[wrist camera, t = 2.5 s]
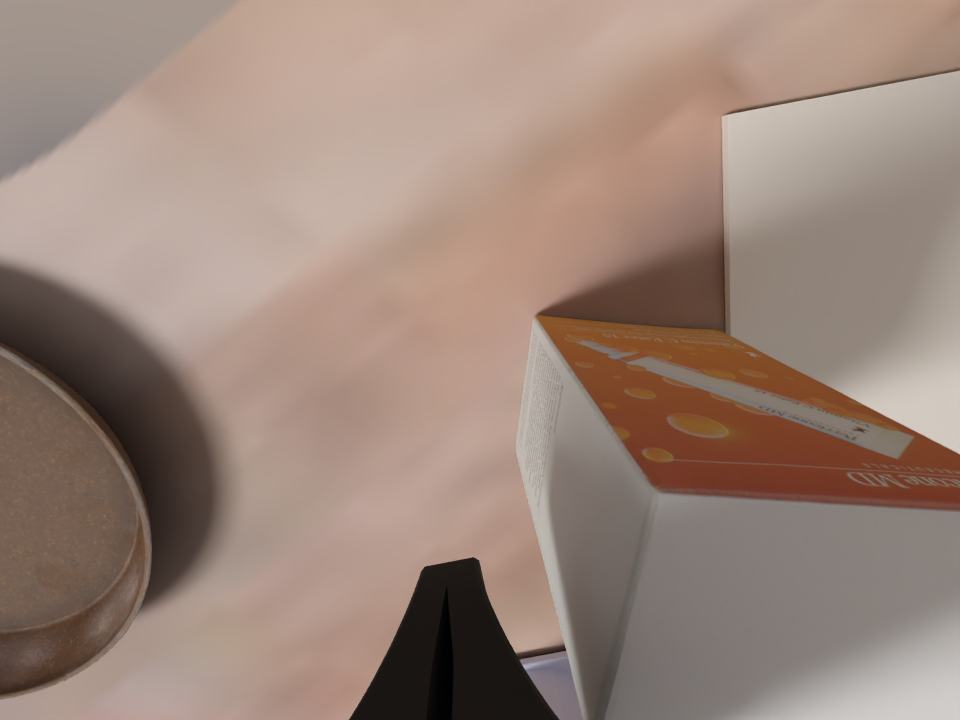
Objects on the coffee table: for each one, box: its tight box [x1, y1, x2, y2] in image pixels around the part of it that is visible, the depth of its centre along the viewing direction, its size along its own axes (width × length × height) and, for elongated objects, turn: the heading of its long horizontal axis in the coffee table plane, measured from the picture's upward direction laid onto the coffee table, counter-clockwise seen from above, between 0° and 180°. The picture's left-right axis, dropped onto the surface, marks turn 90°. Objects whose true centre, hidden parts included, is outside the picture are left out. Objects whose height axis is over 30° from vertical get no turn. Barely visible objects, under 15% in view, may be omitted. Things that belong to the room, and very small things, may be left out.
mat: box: [722, 71, 960, 454], centre depth 21 cm, size 20×13×1 cm, turn 10°
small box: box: [516, 315, 960, 720], centre depth 15 cm, size 8×6×13 cm
